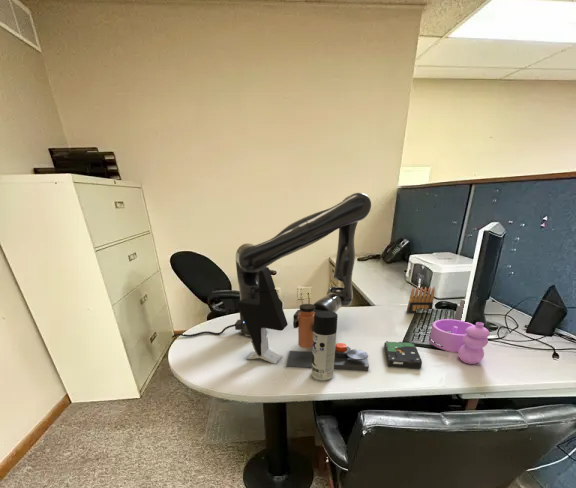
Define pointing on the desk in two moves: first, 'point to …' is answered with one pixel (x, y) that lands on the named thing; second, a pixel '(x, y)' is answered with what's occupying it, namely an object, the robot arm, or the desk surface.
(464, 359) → the container set
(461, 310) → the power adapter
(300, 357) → the plate
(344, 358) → the grey base plate
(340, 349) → the power button
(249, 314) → the award
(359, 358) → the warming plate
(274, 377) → the desk surface
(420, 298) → the ammunition clip
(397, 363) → the disk drive
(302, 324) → the orange bottle
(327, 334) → the spray can
